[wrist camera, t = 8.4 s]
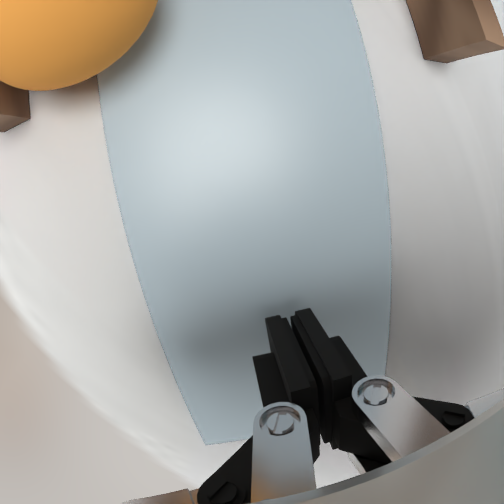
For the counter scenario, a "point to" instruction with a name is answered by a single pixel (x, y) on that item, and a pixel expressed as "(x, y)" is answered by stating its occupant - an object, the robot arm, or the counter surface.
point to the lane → (250, 189)
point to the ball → (66, 39)
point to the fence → (426, 23)
